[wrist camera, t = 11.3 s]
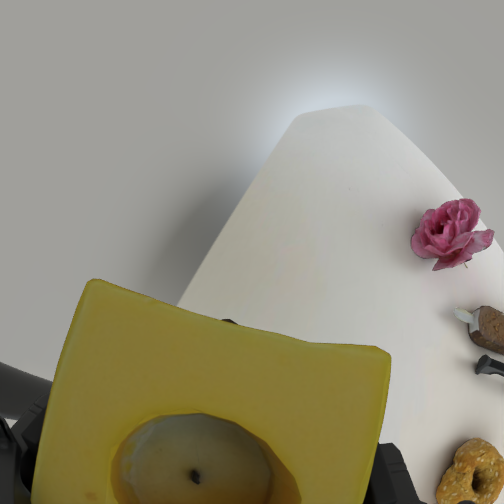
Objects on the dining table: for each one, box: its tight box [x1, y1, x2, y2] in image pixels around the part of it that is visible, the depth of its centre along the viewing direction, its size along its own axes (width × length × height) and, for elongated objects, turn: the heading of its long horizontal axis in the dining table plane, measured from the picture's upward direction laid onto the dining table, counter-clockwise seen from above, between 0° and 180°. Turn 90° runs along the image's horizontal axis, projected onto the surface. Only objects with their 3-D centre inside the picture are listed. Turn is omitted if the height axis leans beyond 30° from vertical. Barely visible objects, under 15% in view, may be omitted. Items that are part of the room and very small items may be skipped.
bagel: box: [436, 438, 504, 504], centre depth 17 cm, size 10×11×5 cm
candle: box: [30, 279, 391, 504], centre depth 10 cm, size 10×10×10 cm
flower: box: [411, 199, 494, 271], centre depth 32 cm, size 11×10×10 cm
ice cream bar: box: [454, 306, 504, 355], centre depth 28 cm, size 5×15×3 cm, turn 66°
